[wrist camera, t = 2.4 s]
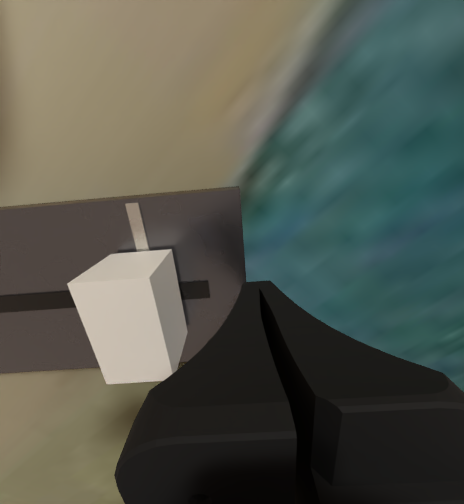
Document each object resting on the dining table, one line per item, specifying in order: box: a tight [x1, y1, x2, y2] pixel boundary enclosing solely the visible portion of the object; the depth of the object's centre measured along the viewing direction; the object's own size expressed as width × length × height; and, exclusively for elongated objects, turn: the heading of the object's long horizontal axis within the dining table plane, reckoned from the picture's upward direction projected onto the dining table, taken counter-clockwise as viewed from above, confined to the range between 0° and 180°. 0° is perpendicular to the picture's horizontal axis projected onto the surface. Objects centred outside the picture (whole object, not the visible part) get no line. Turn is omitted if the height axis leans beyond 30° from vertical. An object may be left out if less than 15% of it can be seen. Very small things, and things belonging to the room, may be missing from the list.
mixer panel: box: [0, 186, 246, 373], centre depth 13 cm, size 10×24×2 cm, turn 95°
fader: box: [67, 249, 188, 384], centre depth 10 cm, size 5×3×3 cm, turn 5°
